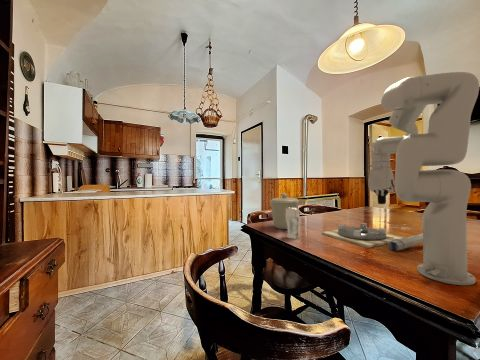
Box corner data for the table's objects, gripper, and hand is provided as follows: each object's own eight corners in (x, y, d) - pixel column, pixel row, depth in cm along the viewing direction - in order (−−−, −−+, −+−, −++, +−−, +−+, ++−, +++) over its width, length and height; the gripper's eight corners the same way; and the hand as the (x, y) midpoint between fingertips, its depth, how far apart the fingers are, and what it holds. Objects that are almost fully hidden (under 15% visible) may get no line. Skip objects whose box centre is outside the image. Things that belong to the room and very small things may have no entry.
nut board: (367, 248, 90) (367, 245, 90) (321, 234, 114) (321, 231, 114) (405, 239, 100) (405, 237, 100) (356, 228, 124) (356, 226, 124)
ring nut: (333, 235, 105) (333, 228, 105) (343, 227, 122) (342, 221, 122) (384, 242, 93) (384, 234, 93) (387, 232, 109) (387, 225, 109)
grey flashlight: (386, 239, 89) (429, 226, 96) (388, 255, 89) (430, 240, 96) (398, 243, 84) (443, 228, 91) (400, 259, 84) (444, 244, 91)
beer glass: (283, 236, 112) (282, 207, 112) (294, 235, 114) (293, 206, 114) (291, 240, 105) (290, 209, 105) (302, 238, 108) (302, 208, 107)
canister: (268, 224, 141) (267, 192, 141) (296, 224, 140) (295, 191, 140) (271, 231, 123) (270, 194, 123) (303, 230, 122) (302, 193, 122)
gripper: (361, 167, 110) (362, 203, 110) (391, 164, 96) (392, 206, 96) (371, 167, 113) (372, 202, 113) (402, 164, 99) (403, 204, 99)
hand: (381, 203), depth 104 cm, fingers closed
